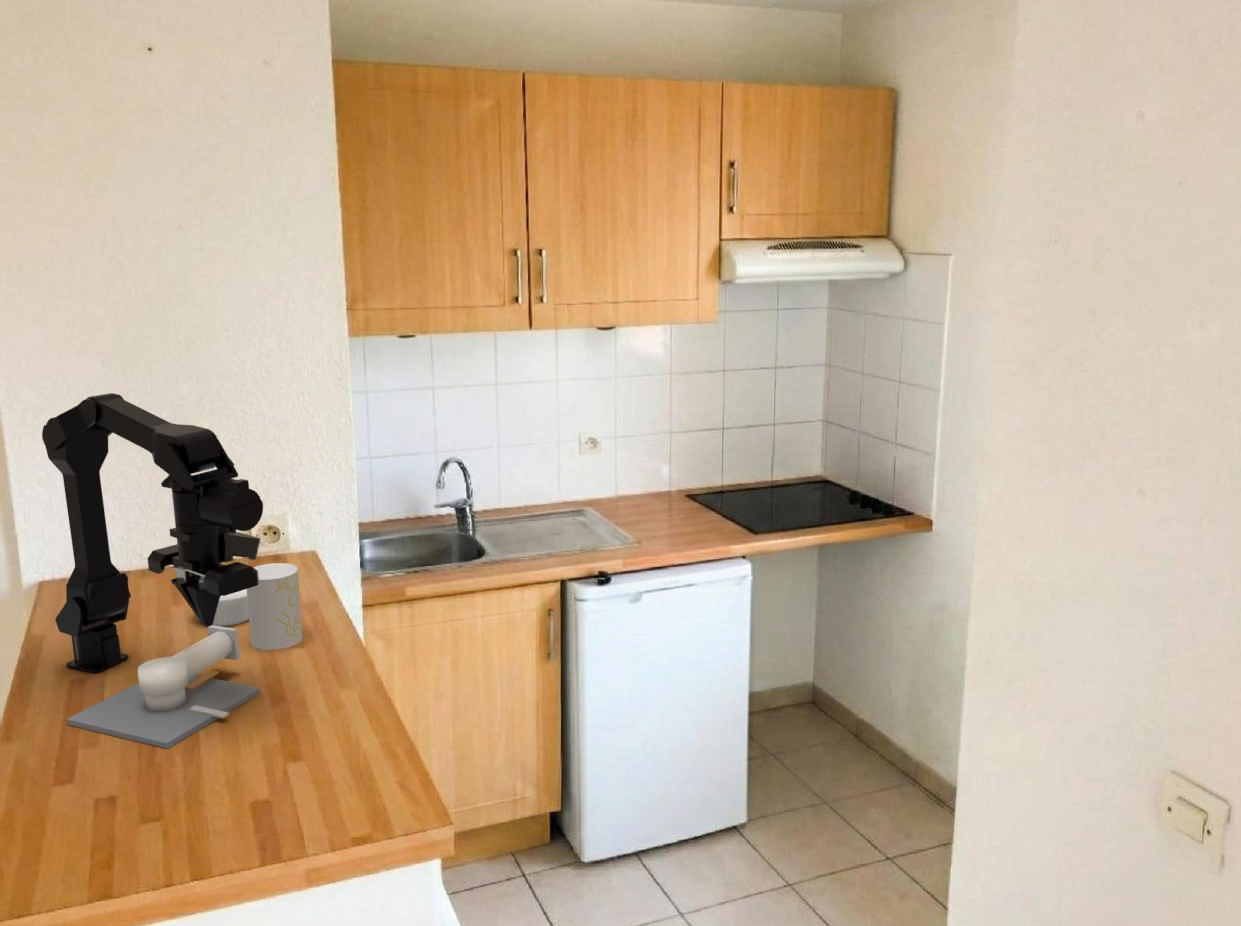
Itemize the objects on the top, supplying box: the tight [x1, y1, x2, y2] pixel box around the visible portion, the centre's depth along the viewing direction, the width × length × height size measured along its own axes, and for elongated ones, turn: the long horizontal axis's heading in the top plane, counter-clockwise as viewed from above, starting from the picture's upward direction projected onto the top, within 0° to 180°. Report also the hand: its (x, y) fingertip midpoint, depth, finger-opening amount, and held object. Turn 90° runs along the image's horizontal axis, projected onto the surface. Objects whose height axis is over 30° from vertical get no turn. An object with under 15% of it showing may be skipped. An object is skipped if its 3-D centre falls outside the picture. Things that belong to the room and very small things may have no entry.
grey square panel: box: [66, 669, 261, 749], centre depth 154 cm, size 20×20×3 cm
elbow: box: [137, 625, 241, 696], centre depth 157 cm, size 17×6×5 cm, turn 161°
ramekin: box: [195, 589, 249, 627], centre depth 187 cm, size 11×11×5 cm
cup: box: [247, 562, 304, 651], centre depth 176 cm, size 8×8×12 cm
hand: (207, 625), depth 153 cm, fingers closed
